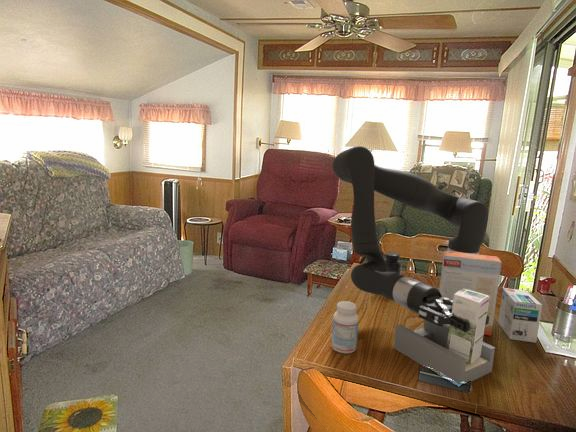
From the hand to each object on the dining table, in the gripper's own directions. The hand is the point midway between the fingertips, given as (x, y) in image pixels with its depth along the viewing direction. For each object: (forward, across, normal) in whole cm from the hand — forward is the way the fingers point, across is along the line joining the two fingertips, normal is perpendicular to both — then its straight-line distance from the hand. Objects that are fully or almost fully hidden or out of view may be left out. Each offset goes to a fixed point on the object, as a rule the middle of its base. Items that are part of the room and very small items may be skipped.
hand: (478, 324), depth 85 cm
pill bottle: (-23, -17, +13) cm, 31 cm away
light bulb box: (-7, +31, +13) cm, 34 cm away
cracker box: (-16, +20, +13) cm, 28 cm away
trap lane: (-8, 0, +12) cm, 15 cm away
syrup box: (-2, 0, +9) cm, 9 cm away
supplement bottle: (-48, +25, +13) cm, 55 cm away
